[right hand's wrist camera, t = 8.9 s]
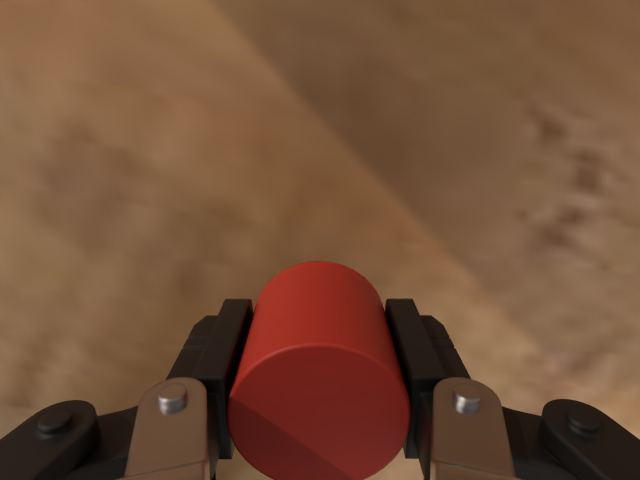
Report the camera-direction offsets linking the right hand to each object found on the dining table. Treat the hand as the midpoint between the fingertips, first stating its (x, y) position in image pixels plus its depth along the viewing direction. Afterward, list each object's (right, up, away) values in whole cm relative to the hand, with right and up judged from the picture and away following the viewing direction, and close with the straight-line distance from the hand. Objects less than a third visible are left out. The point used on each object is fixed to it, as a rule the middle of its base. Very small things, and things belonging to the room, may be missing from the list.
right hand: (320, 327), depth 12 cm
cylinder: (0, 0, 0) cm, 0 cm away
